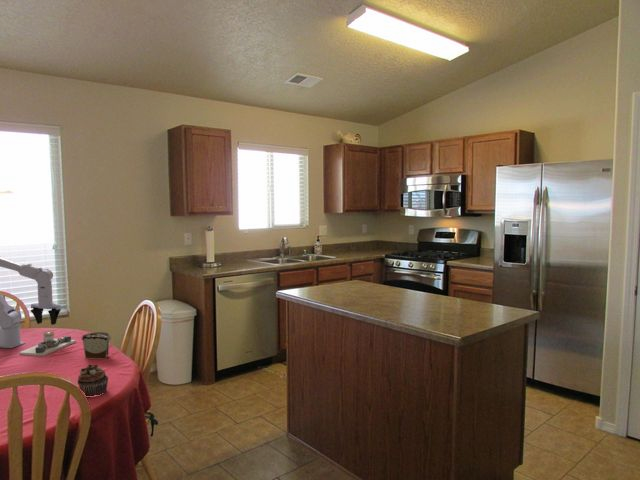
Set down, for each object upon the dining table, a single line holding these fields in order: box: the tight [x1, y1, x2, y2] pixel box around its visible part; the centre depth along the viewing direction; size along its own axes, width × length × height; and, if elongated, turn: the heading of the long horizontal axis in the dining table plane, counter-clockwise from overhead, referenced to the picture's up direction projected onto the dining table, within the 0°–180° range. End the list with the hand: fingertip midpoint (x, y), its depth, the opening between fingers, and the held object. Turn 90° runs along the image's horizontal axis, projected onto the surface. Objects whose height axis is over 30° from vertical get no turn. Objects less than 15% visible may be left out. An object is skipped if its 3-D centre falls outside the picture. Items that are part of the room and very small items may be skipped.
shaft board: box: [18, 338, 77, 357], centre depth 205 cm, size 12×20×2 cm, turn 169°
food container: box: [81, 331, 112, 360], centre depth 194 cm, size 12×6×10 cm, turn 84°
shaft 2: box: [56, 335, 72, 343], centre depth 211 cm, size 5×3×3 cm, turn 149°
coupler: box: [43, 331, 55, 345], centre depth 205 cm, size 4×4×6 cm
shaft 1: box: [35, 344, 47, 353], centre depth 198 cm, size 5×3×3 cm, turn 9°
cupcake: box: [77, 364, 109, 396], centre depth 157 cm, size 10×10×10 cm
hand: (46, 323), depth 211 cm, fingers open, 7 cm apart
